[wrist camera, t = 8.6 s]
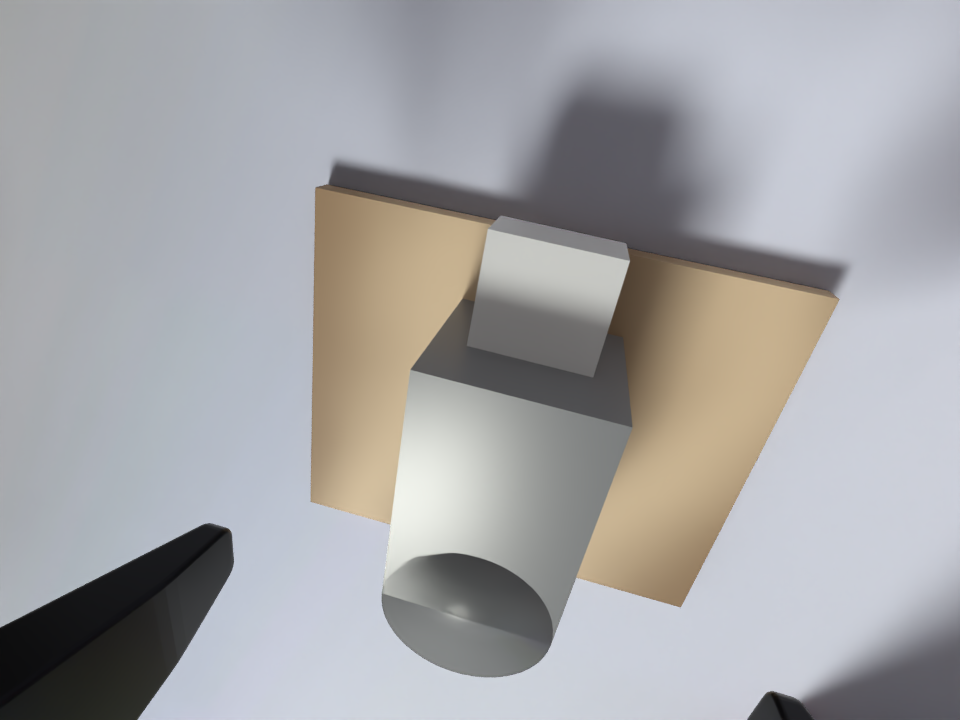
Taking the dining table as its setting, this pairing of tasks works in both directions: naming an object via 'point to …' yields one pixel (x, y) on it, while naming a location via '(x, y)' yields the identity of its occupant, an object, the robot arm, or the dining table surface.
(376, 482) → the cork pad
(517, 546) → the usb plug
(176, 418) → the dining table surface
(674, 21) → the dining table surface
